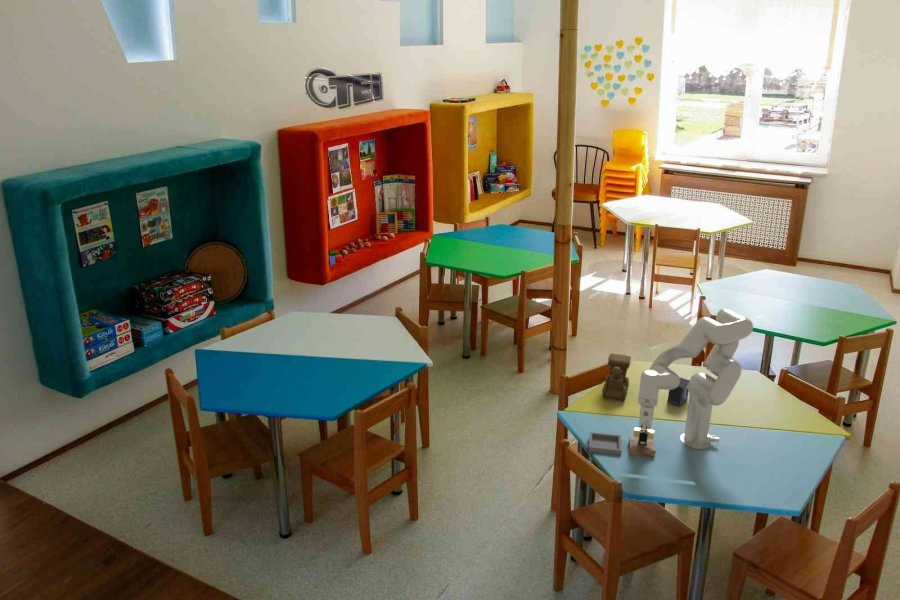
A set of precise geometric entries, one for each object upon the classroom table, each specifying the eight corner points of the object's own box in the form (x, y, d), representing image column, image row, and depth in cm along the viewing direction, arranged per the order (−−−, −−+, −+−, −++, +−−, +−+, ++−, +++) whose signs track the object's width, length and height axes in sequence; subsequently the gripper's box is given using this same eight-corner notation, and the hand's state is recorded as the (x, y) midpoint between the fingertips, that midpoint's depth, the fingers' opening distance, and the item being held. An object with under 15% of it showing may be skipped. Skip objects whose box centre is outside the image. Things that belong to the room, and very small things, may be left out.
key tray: (620, 441, 331) (620, 435, 330) (620, 457, 319) (621, 450, 318) (589, 438, 334) (589, 431, 333) (588, 453, 321) (589, 447, 320)
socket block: (652, 447, 328) (653, 438, 326) (654, 459, 318) (655, 450, 317) (628, 444, 329) (629, 435, 328) (629, 456, 320) (630, 447, 319)
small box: (679, 407, 363) (682, 387, 359) (666, 403, 367) (669, 383, 363) (688, 400, 371) (691, 380, 367) (675, 396, 374) (677, 376, 371)
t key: (651, 449, 324) (654, 430, 321) (651, 452, 321) (653, 433, 318) (632, 446, 326) (634, 427, 323) (631, 449, 324) (634, 429, 321)
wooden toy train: (605, 383, 386) (608, 352, 380) (629, 386, 383) (632, 355, 377) (600, 400, 368) (603, 368, 362) (625, 404, 365) (628, 372, 359)
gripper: (655, 410, 308) (650, 450, 314) (658, 392, 322) (653, 432, 328) (636, 407, 310) (632, 447, 316) (640, 390, 324) (635, 429, 330)
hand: (643, 439), depth 322 cm, fingers closed on t key, 2 cm apart
